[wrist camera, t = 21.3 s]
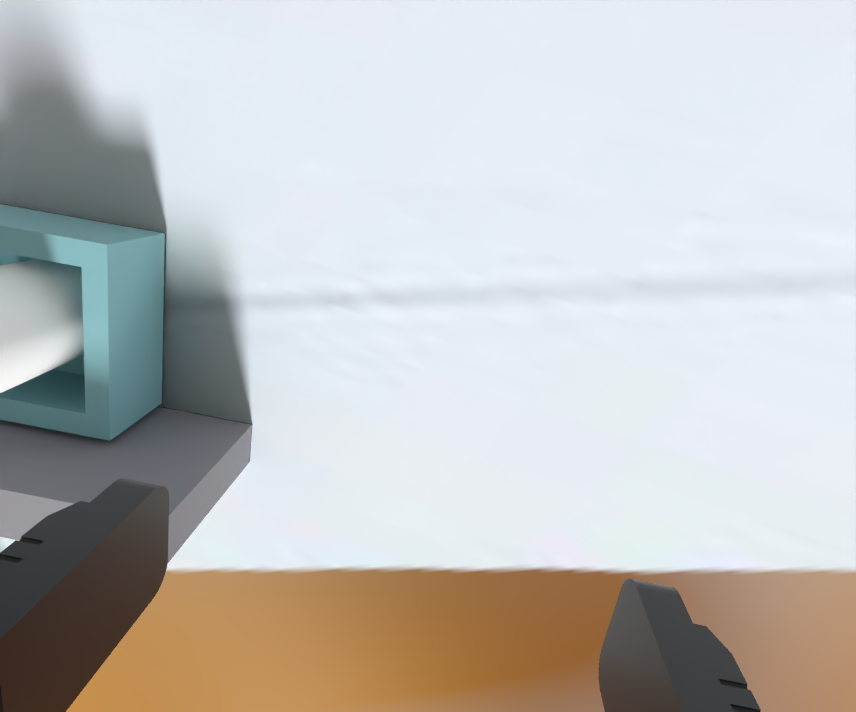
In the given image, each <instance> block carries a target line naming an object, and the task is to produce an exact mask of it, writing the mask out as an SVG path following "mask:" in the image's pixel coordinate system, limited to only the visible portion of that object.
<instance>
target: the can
mask: <svg viewBox="0 0 856 712" xmlns="http://www.w3.org/2000/svg"><path fill="white" fill-rule="evenodd" d="M82 355H84V339H83V303H82V268H81V267H79V266H73V265H68V264H62V263H57V262H51V261H46V260H40V259H32V260H27V261H22V262H16V263H11V264H6V265H1V266H0V393H2V392H4V391H6V390H9V389H11V388H13V387H15V386H17V385H19V384H22V383H24V382H26V381H28V380H30V379H32V378H35V377H37V376H39V375H41V374H43V373H46V372H48V371H50V370H52V369H54V368H56V367H58V366H61V365H63V364H65V363H67V362H69V361H71V360H73V359H76V358H78V357H80V356H82Z"/></svg>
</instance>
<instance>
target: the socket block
mask: <svg viewBox="0 0 856 712" xmlns="http://www.w3.org/2000/svg"><path fill="white" fill-rule="evenodd" d="M164 250H165V233H159V232H154V231H148V230H142V229H137V228H131V227H126V226H120V225H115V224H109V223H103V222H98V221H92V220H87V219H81V218H75V217H70V216H64V215H59V214H53V213H48V212H42V211H36V210H31V209H25V208H20V207H14V206H9V205H3V204H0V266H1V265H6V264H11V263H16V262H22V261H27V260H32V259H40V260H46V261H51V262H57V263H62V264H68V265H73V266H79V267H81V268H82V303H83V339H84V355H82V356H80V357H78V358H76V359H73V360H71V361H69V362H67V363H65V364H63V365H61V366H58V367H56V368H54V369H52V370H50V371H48V372H46V373H43V374H41V375H39V376H37V377H35V378H32V379H30V380H28V381H26V382H24V383H22V384H19V385H17V386H15V387H13V388H11V389H9V390H6V391H4V392H2V393H0V420H5V421H10V422H15V423H20V424H26V425H31V426H36V427H41V428H46V429H51V430H57V431H62V432H67V433H72V434H77V435H82V436H88V437H93V438H98V439H103V440H108V441H110V440H112V439H113V438H114V437H116V436H117V435H119V434H120V433H121V432H123V431H124V430H126V429H127V428H128V427H130V426H131V425H132V424H134V423H135V422H137V421H138V420H139V419H141V418H142V417H144V416H145V415H146V414H148V413H149V412H150V411H152V410H153V409H155V408H156V407H157V406H159V405H160V404H162V363H163V306H164Z"/></svg>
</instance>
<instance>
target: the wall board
mask: <svg viewBox="0 0 856 712" xmlns="http://www.w3.org/2000/svg"><path fill="white" fill-rule="evenodd" d="M251 434H252V424H246V423H241V422H236V421H231V420H225V419H220V418H215V417H210V416H204V415H199V414H194V413H189V412H183V411H178V410H173V409H168V408H162V407H156V408H155V409H153V410H152V411H150V412H149V413H148V414H146V415H145V416H144V417H142V418H141V419H139V420H138V421H137V422H135V423H134V424H132V425H131V426H130V427H128V428H127V429H126V430H124V431H123V432H121V433H120V434H119V435H117V436H116V437H114V438H113V439H112V440H110V441H108V440H103V439H98V438H93V437H88V436H82V435H77V434H72V433H67V432H62V431H57V430H51V429H46V428H41V427H36V426H31V425H26V424H20V423H15V422H10V421H5V420H0V537H5V538H10V539H15V540H20V539H21V536H22V535H23V534H25V533H26V532H27V531H29V530H30V529H31V528H32V527H34V526H35V525H36V524H37V523H39V522H40V521H41V520H42V519H44V518H45V517H46V516H48V515H50V514H52V513H55V512H57V511H59V510H61V509H64V508H66V507H68V506H70V505H73V504H75V503H77V502H79V501H84V502H89V503H90V502H91V501H92V500H93V499H94V498H96V497H97V496H98V495H99V494H100V493H102V492H103V491H104V490H105V489H106V488H108V487H109V486H110V485H111V484H112V483H113V482H115V481H116V480H118V479H121V478H125V479H130V480H135V481H140V482H145V483H150V484H155V485H160V486H165V487H166V488H167V489H168V492H169V534H168V562H169V561H170V560H171V558H172V557H173V556H174V555H175V553H176V552H177V551H178V550H179V549H180V547H181V546H182V545H183V544H184V542H185V541H186V540H187V539H188V537H189V536H190V535H191V534H192V532H193V531H194V530H195V529H196V527H197V526H198V525H199V524H200V522H201V521H202V520H203V519H204V517H205V516H206V515H207V514H208V513H209V511H210V510H211V509H212V508H213V506H214V505H215V504H216V503H217V501H218V500H219V499H220V498H221V496H222V495H223V494H224V493H225V491H226V490H227V489H228V488H229V486H230V485H231V484H232V483H233V481H234V480H235V479H236V478H237V477H238V475H239V474H240V473H241V472H242V470H243V469H244V468H245V467H246V465H247V464H248V463H249V461H250V448H251ZM168 562H167V563H168Z"/></svg>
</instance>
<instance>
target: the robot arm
mask: <svg viewBox="0 0 856 712" xmlns="http://www.w3.org/2000/svg"><path fill="white" fill-rule="evenodd" d="M168 534H169V492H168V489H167V488H166V487H165V486H160V485H155V484H150V483H145V482H140V481H135V480H130V479H125V478H121V479H118V480H116V481H115V482H113V483H112V484H111V485H110V486H109V487H108V488H106V489H105V490H104V491H103V492H102V493H100V494H99V495H98V496H97V497H96V498H94V499H93V500H92V501H91V502H90V503H89V502H84V501H79V502H77V503H75V504H73V505H70V506H68V507H66V508H64V509H61V510H59V511H57V512H55V513H52V514H50V515H48V516H46V517H45V518H44V519H42V520H41V521H40V522H39V523H37V524H36V525H35V526H34V527H32V528H31V529H30V530H29V531H27V532H26V533H25V534H23V535H22V536H21V539H20V541H15V542H13V543H12V544H11V545H10V546H8V547H7V548H6V549H4V550H3V551H2V552H1V553H0V712H66V710H67V709H68V708H69V707H70V705H71V704H72V703H73V701H74V700H75V699H76V697H77V696H78V695H79V694H80V692H81V691H82V690H83V688H84V687H85V686H86V685H87V683H88V682H89V681H90V679H91V678H92V677H93V675H94V674H95V673H96V672H97V670H98V669H99V668H100V666H101V665H102V664H103V663H104V661H105V660H106V659H107V657H108V656H109V655H110V654H111V652H112V651H113V650H114V648H115V647H116V646H117V644H118V643H119V642H120V641H121V639H122V638H123V637H124V635H125V634H126V633H127V632H128V630H129V629H130V628H131V626H132V625H133V624H134V623H135V621H136V620H137V619H138V617H139V616H140V615H141V613H142V612H143V611H144V609H145V608H146V607H147V606H148V604H149V603H150V602H151V601H152V599H153V598H154V596H155V595H156V593H157V592H158V590H159V588H160V586H161V583H162V581H163V578H164V575H165V572H166V568H167V562H168ZM599 684H600V692H601V696H602V701H603V705H604V709H605V712H760V708H759V706H758V704H757V702H756V700H755V698H754V696H753V694H752V692H751V691H750V690H748V689H747V683H746V681H745V679H744V677H743V675H742V673H741V671H740V669H739V667H738V665H737V663H736V661H735V659H734V657H733V655H732V654H731V653H730V652H729V651H728V649H726V647H725V646H724V645H723V644H722V643H721V642H720V641H719V640H718V639H717V638H716V636H715V635H714V634H713V633H712V632H711V631H710V630H709V629H708V628H707V627H706V626H702V625H697V624H693V623H692V620H691V618H690V616H689V614H688V612H687V610H686V607H685V605H684V603H683V601H682V599H681V597H680V595H679V593H678V591H677V590H676V589H675V588H673V587H669V586H663V585H658V584H653V583H648V582H643V581H638V580H633V579H627V580H626V581H625V582H624V584H623V586H622V589H621V591H620V594H619V597H618V600H617V603H616V606H615V609H614V612H613V615H612V618H611V622H610V625H609V627H608V631H607V634H606V637H605V640H604V643H603V646H602V649H601V654H600V660H599Z"/></svg>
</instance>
